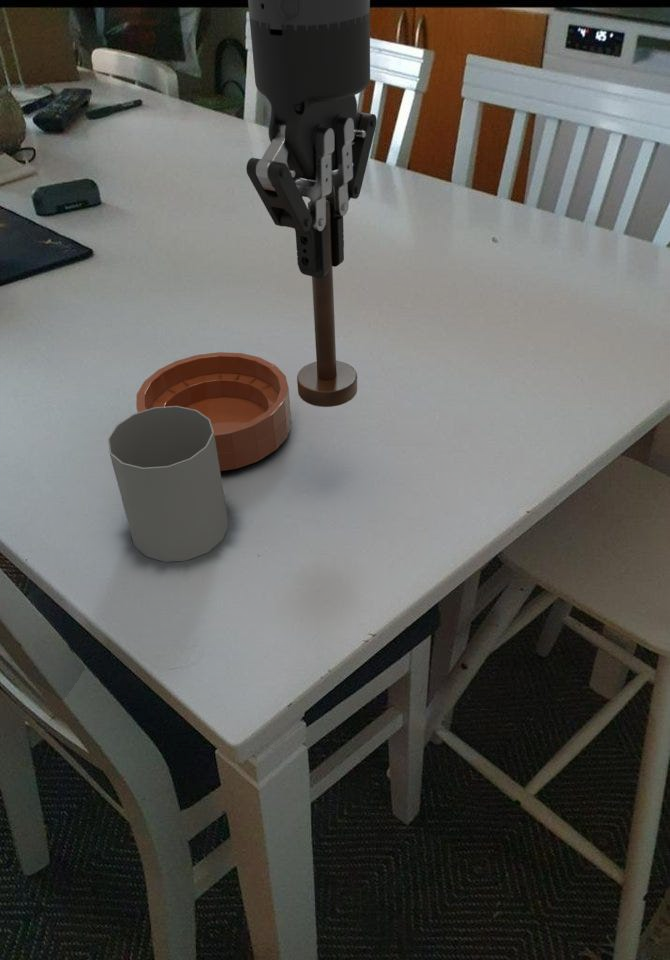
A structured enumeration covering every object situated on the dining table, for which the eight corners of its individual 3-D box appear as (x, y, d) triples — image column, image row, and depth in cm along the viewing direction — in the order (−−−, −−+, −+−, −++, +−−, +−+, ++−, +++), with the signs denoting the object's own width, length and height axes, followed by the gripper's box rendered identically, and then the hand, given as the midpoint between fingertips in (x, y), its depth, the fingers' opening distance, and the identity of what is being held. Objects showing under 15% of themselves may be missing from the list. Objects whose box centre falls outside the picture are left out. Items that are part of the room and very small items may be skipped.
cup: (113, 547, 69) (86, 454, 63) (163, 488, 75) (143, 398, 69) (199, 571, 67) (180, 478, 60) (244, 509, 72) (231, 417, 66)
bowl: (175, 497, 74) (166, 454, 71) (127, 418, 84) (117, 377, 81) (316, 447, 79) (313, 405, 76) (255, 378, 89) (250, 338, 86)
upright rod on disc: (315, 414, 66) (303, 221, 55) (288, 385, 69) (272, 199, 59) (368, 396, 67) (366, 206, 57) (339, 368, 71) (332, 185, 61)
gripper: (317, -15, 56) (327, 227, 67) (191, 23, 47) (227, 295, 58) (414, -9, 53) (407, 244, 64) (298, 33, 44) (314, 318, 55)
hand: (321, 268), depth 61 cm, fingers closed on upright rod on disc
